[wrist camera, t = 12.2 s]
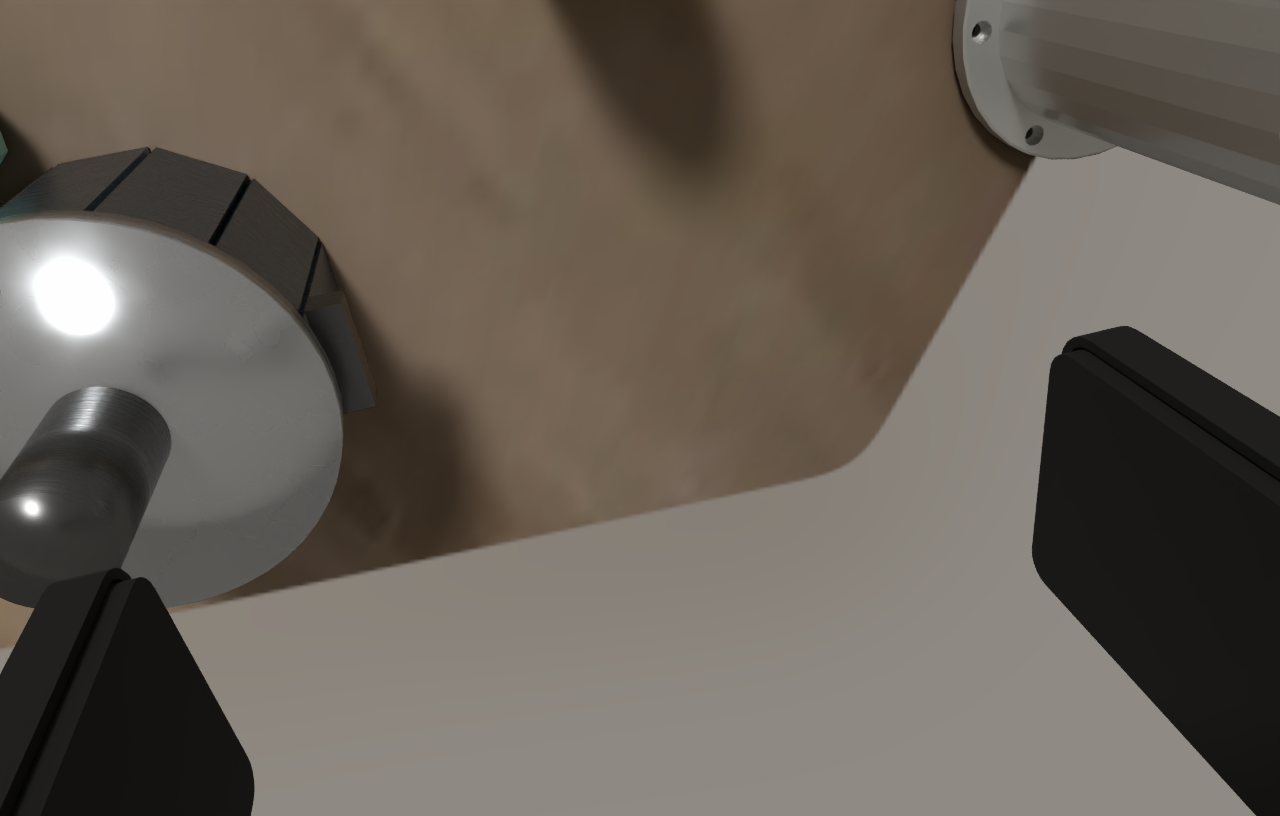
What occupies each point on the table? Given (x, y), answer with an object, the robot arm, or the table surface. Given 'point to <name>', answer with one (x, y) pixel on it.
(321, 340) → the pot
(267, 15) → the table surface
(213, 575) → the lid
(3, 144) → the mint green octagonal rod
